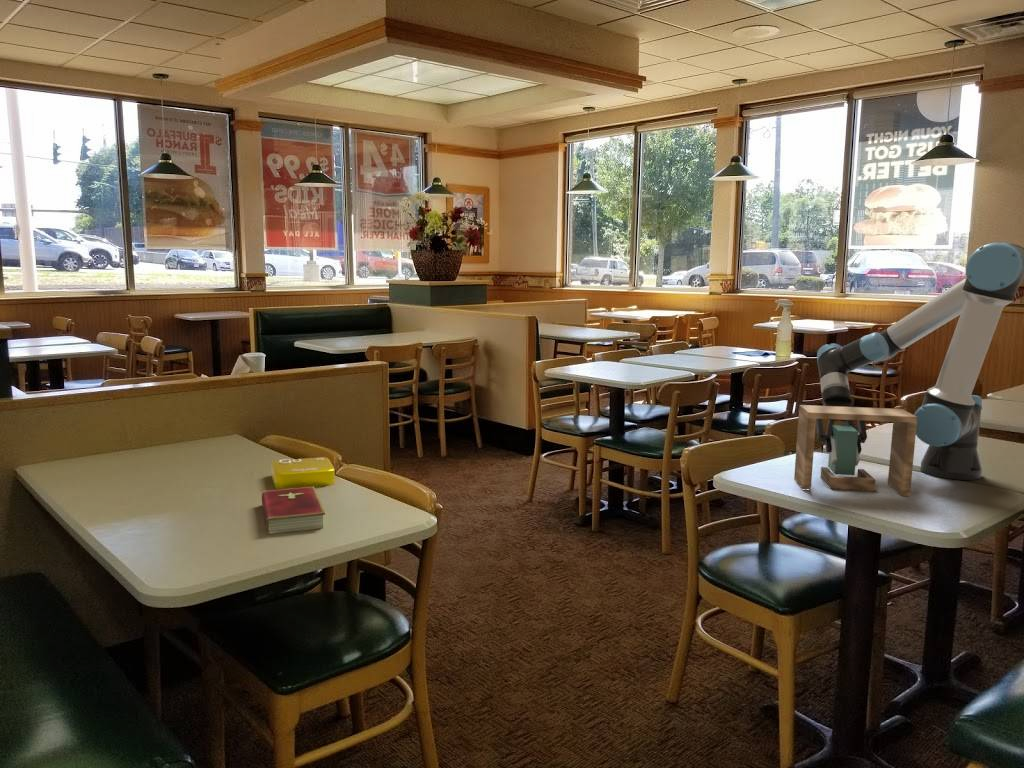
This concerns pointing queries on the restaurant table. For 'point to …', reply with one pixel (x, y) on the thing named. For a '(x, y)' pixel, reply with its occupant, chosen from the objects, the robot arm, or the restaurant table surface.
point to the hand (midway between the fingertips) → (845, 462)
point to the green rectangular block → (844, 449)
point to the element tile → (302, 473)
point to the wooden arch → (864, 481)
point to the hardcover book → (292, 510)
